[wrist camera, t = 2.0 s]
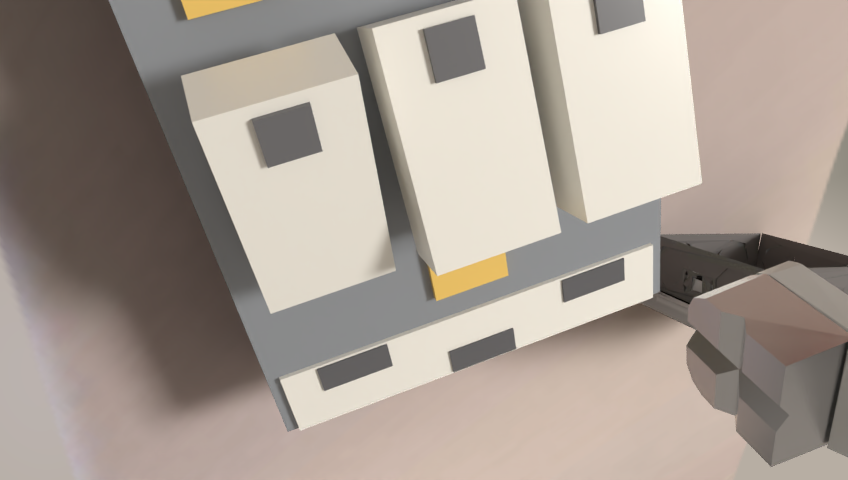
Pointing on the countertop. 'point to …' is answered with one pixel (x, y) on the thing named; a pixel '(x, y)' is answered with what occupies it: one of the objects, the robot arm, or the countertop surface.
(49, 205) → the countertop surface
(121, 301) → the countertop surface
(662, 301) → the electrical switch
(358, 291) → the switch unit
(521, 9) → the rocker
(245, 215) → the rocker
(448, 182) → the rocker
